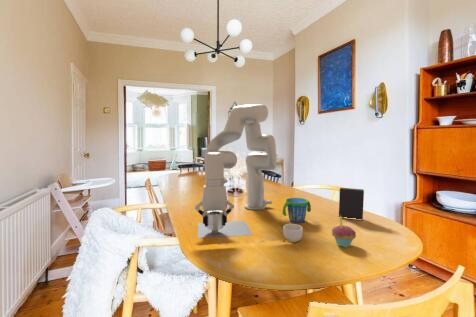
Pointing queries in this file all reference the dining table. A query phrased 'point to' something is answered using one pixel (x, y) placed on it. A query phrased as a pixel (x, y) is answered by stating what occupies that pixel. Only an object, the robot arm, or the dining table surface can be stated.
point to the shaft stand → (225, 230)
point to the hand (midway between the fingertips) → (214, 224)
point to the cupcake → (343, 234)
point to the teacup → (292, 232)
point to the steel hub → (214, 220)
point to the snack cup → (296, 209)
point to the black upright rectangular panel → (351, 203)
